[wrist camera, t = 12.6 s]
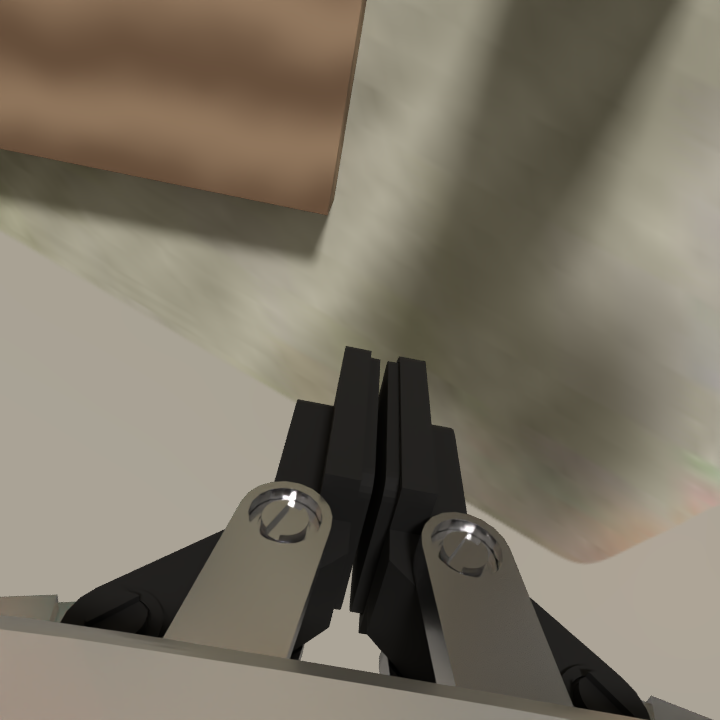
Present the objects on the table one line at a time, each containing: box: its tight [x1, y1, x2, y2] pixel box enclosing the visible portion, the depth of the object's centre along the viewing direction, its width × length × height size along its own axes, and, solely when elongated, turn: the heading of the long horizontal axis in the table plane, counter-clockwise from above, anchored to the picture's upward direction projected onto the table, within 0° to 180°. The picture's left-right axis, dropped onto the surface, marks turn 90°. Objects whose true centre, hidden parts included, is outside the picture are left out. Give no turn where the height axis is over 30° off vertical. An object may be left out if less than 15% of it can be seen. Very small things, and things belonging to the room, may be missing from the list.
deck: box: [0, 0, 367, 215], centre depth 31 cm, size 13×22×4 cm, turn 79°
